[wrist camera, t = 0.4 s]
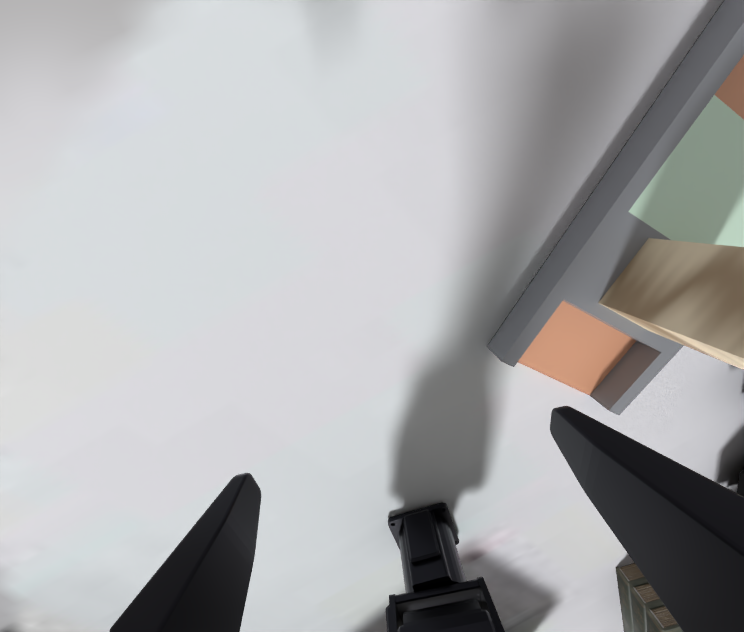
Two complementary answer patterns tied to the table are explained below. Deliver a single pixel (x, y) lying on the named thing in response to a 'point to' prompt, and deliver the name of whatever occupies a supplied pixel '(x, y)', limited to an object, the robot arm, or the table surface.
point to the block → (686, 295)
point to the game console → (741, 484)
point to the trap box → (640, 226)
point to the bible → (642, 604)
